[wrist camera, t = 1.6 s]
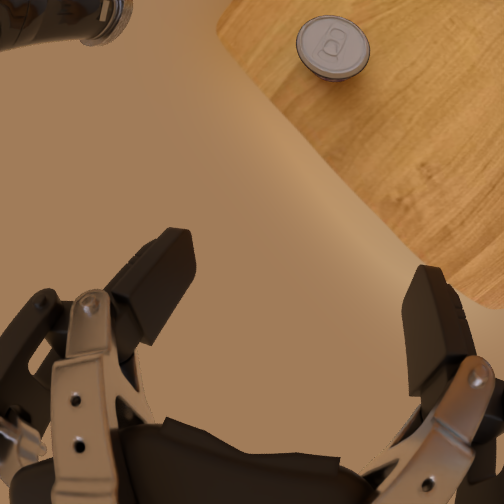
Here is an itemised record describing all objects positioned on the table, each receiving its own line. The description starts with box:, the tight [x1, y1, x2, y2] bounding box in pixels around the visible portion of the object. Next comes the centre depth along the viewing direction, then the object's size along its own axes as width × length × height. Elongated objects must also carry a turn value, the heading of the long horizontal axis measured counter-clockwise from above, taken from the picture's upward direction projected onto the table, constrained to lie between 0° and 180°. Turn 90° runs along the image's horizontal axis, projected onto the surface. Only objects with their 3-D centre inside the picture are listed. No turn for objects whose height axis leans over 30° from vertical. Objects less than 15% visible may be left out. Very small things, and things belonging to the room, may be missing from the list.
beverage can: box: [296, 15, 370, 82], centre depth 19 cm, size 6×6×12 cm
